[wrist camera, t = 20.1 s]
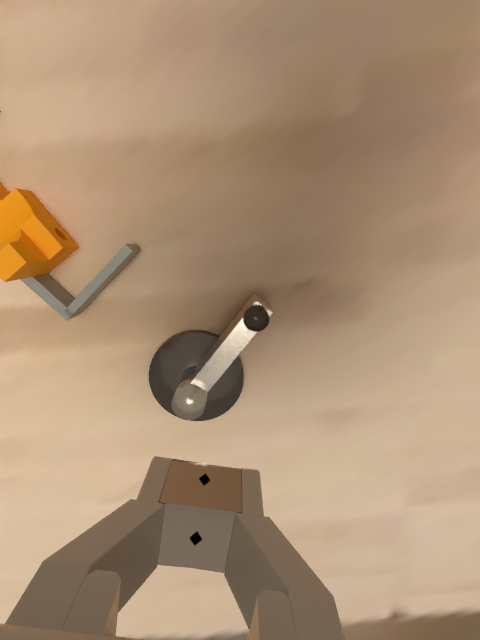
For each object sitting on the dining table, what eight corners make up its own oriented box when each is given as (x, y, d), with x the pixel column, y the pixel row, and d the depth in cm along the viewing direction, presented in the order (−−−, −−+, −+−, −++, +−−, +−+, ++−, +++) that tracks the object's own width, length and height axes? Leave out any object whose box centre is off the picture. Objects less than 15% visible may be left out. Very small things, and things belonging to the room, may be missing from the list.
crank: (199, 397, 35) (192, 426, 30) (176, 381, 34) (164, 407, 29) (273, 307, 32) (279, 320, 27) (249, 288, 32) (251, 298, 27)
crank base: (196, 311, 34) (195, 314, 33) (262, 375, 36) (263, 380, 34) (132, 373, 35) (128, 378, 34) (198, 432, 37) (196, 438, 36)
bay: (-7, 104, 29) (-30, 91, 27) (140, 249, 32) (132, 250, 30) (-68, 183, 31) (-94, 178, 28) (79, 314, 34) (66, 320, 31)
